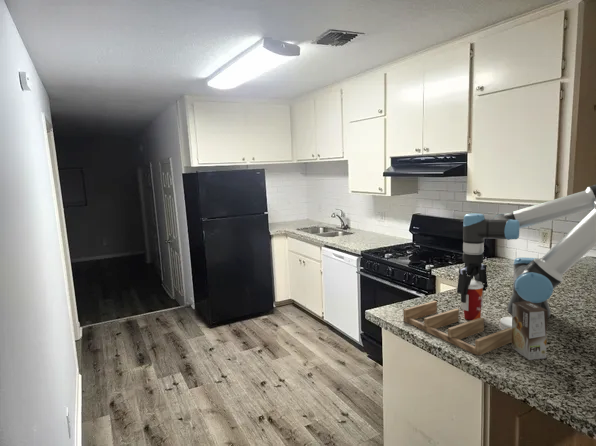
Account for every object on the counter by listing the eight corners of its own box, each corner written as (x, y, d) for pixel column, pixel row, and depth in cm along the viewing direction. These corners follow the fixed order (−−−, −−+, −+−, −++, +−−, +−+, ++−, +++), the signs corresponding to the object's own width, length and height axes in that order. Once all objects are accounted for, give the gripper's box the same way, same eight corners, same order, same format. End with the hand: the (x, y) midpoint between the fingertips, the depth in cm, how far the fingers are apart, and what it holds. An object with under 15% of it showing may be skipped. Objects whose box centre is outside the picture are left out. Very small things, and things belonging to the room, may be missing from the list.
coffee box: (547, 358, 123) (549, 310, 121) (528, 360, 123) (530, 312, 121) (527, 345, 132) (529, 300, 130) (510, 347, 132) (511, 302, 130)
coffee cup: (485, 322, 153) (486, 285, 150) (463, 321, 154) (463, 285, 152) (480, 313, 161) (480, 279, 158) (459, 313, 162) (459, 279, 160)
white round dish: (502, 335, 142) (503, 325, 141) (496, 324, 151) (496, 315, 151) (533, 336, 139) (533, 327, 139) (525, 325, 149) (525, 316, 148)
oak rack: (512, 342, 135) (512, 328, 135) (478, 355, 127) (478, 341, 127) (434, 311, 166) (434, 300, 165) (403, 321, 158) (403, 309, 157)
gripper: (482, 247, 162) (480, 299, 165) (447, 254, 152) (446, 310, 155) (498, 250, 155) (497, 305, 158) (463, 258, 146) (462, 316, 149)
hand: (472, 307), depth 157 cm, fingers closed on coffee cup, 8 cm apart
